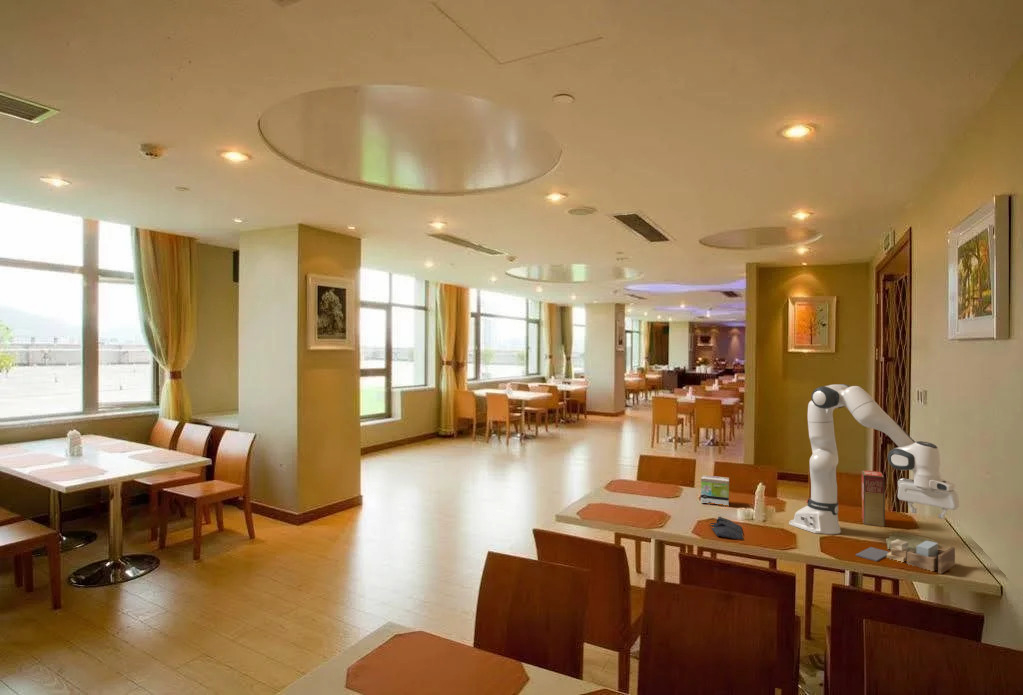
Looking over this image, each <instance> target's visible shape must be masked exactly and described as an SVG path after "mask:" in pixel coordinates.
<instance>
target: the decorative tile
mask: <svg viewBox="0 0 1023 695" xmlns="http://www.w3.org/2000/svg"><path fill="white" fill-rule="evenodd" d="M888 536H889V537H887V538H886V539H885V542H886V546H887V550H888V549H890V550H889V551H891V549H892V548H891V541H894V540H897V539H899V540H903V541H906V542H908V547H909V551H910V550H913V551H915V553H916V546H917V545H919V544H921V543H923V542H924V541H931V542H935V543H937V541H936V540H935V539H933V538H928V537H924V536H919V535H913V534H905V533H900V532H891V534H890V535H888Z"/></svg>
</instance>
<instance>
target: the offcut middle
mask: <svg viewBox="0 0 1023 695" xmlns="http://www.w3.org/2000/svg"><path fill="white" fill-rule="evenodd" d="M908 551H909V547H908V548H907V549H904V550H902V551H901V550H898V549H894V548H892V549H891V550H890V552H891V555H895V556H899V557H904V558H906V557H907V552H908Z"/></svg>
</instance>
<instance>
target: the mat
mask: <svg viewBox="0 0 1023 695" xmlns="http://www.w3.org/2000/svg"><path fill="white" fill-rule="evenodd" d="M890 552H891V551H889V550H888V551H887V550H884V549H880V548H877V547H872V546H869V547H868V548H865V549H864V550H861V551H860V552H858V553H855V556H856V557H860V558H863V559H866V560H870V561H874V562H879V561H881V560H883V559H884V558H887V554H888V553H890Z"/></svg>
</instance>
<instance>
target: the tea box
mask: <svg viewBox="0 0 1023 695" xmlns="http://www.w3.org/2000/svg"><path fill="white" fill-rule="evenodd" d="M729 502H730V477H725V476H715V475H706V474H702V475H701V478H700V504H701V503H715V504H723V505H728V506H729V505H730V504H729Z"/></svg>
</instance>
